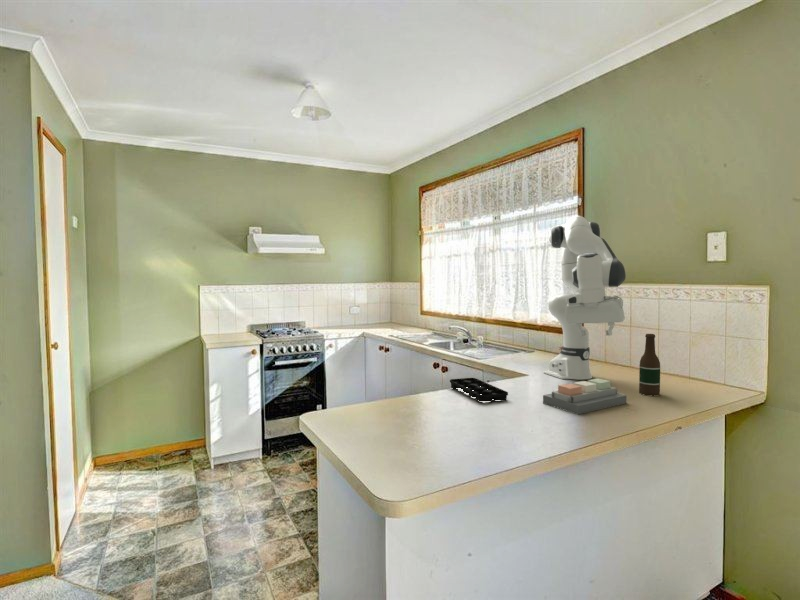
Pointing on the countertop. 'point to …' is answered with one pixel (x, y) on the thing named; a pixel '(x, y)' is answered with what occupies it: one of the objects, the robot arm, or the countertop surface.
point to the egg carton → (479, 389)
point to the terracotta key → (569, 389)
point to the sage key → (600, 383)
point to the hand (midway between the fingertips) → (595, 335)
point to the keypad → (586, 400)
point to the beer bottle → (649, 369)
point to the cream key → (586, 386)
